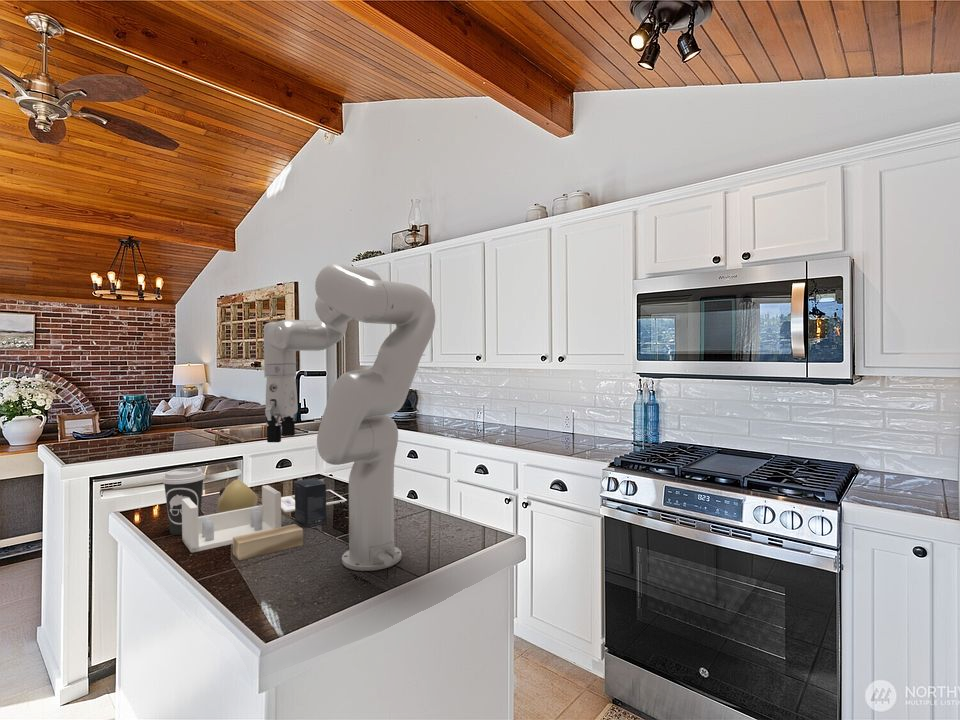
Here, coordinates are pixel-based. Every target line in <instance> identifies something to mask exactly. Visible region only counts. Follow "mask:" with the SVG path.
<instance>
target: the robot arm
mask: <svg viewBox="0 0 960 720" xmlns="http://www.w3.org/2000/svg"><path fill="white" fill-rule="evenodd" d="M314 285H315V287H314V289H315V293H316V296H317V298H316V300H315V303H314V308H315V309H314V310H315V313H316V315H317V317H318V319H320V320H308V319H307V320H304V319H283V320H279V321H271V322H270V321H269V322H267V323H265V324H264V327H263V357H264V358H263V359H264V360H263V368H264V371H263V372H264V373H263V374H264V378H266V383H265V410H264V412H265V420H266V421H265V422H266V423H265V424H266V442H267V443H280V442H282V437H294V436H295V435H296V431H295V430H296V423H295V420H296V416H295V414H297V413H298V409H299V408H298V406H299V405H298V393H297V392H298V391H297V383H296V377H297V352H300V351H305V352H306V351H307V352H310V351H311V352H313V351H314V352H318V351H319V352H320V351H323V350H327V349H329V348H331V347H333V346H334V345H335V344H337V343H338V342H340V341H341V340H342V339H344V336H345V334H346V333H347V330H348V329H347V328H348V323H349V322H350V321H352V320H355V321H357V322H360V323H365V324H380V325H395V326H396V327H395V329H394V330H393V331H391V333H390V334H388V335H387V336H386V338H385V339H384V340H383V342H382V344H381V346H380V348H379V349H378V353H377V355H376V359H375V360H374V363H373V364H372V365H371V367H370V368H366V369H352V370H348V371H346V372H344V373H342V374H341V375H340V376H339V377H338V378H337V379H336V381H334V383H333V385H332V388H331V390H330V393H329V395H328V399H327V402H326V405H325V409H324V412H323V415H322V416H321V417H322V418H321V421H320V425H319V427H318V432H317V436H316V447H317V452H318V454H319V457H321V460H323V462H325V463H327V464H329V465H333V466H334V465H335V466H337V465H344V464H349V463H352V466H351V469H350V471H349V475H348V550H346V551H345V552H344V553H343V554H342V555H341V563H342V565H343V566H344V567H345V568H347V569H350V570H354V571H357V572H359V571H360V572H373V571H379V570H384V569H387V568H391V567H393V566H394V565H397V564H398V563H399V562H400V561H401V560H402V550H401V549H400V548H399V547H398V546H396V542H395V498H394V497H395V495H394V494H395V489H394V487H395V459H396V454H397V450H398V449H397V447H398V442H399V429H398V425H397V424H396V422H395V420H394V419H393V418H392V417H391V416H389V415H391V414H394V413H397V412H398V411H400V410H401V408H402V407H403V406H404V404H405V402H406V400H407V396H408V394H409V391H410V388H411V387H412V383H413V381H414V378H415V375H416V372H417V370H418V366H419V363H420V361H421V359H422V356H423V355H424V352H425V350H426V348H427V347H428V345H429V343H430V340H431V338H432V335H433V334H434V330H435V327H436V326H435V325H436V309H435V306H434V302H433V301H432V298H431V297H430V296H429V294H428V293H427V292H426V291H425V290H424V289H422V288H421V287H419V286H416V285H413V284H408V283H402V282H397V281H388V280H383V279H382V278H381V277H380V275H379V274H378V273H376V272H375V271H373V270H372V269H369V268H367V267H360V266H356V265H355V266H354V265H348V264H347V265H346V264H341V263H332V264H328V265H326V266H325V267H323V268H322V269H321V270H320V271H319V272H318V274H317V276H316V278H315V283H314ZM281 419H282V420H281ZM280 424H281V425H280Z"/></svg>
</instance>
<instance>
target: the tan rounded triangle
mask: <svg viewBox="0 0 960 720" xmlns="http://www.w3.org/2000/svg"><path fill="white" fill-rule="evenodd" d="M258 501H259V500H258V496H257V494H256V493H255V492H254V491H253V490H252V489H251V488H250V487H249V486H248V485H247V484H246V483H245V482H243V481H241V480H239V479H233V481H232V482H230V483H229V484H227V485H226V486H225V487H223V488H221V489H220V490H219V498H218V501H217V510H218V511H219V513H222V512H228V511H233V510H238V509H244V508H249V507H255V506H257V504H258Z"/></svg>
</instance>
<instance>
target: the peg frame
mask: <svg viewBox="0 0 960 720" xmlns="http://www.w3.org/2000/svg"><path fill="white" fill-rule="evenodd" d="M281 497H282V492H280V491H278V490H277V489H275V488H273V487H272V486H270V485H268V484H267V485H261V504H260V505H256V506H255V507H249V508H244V509H238V510H233V511H228V512H222V513H220V512H218V513H212V514H206V515H200V517H198V507H197V506H196V505H195V504H194V503H193V502H192V501H191V500H190V499H189V498H185V499H182V534H181V535H182V536H181V537H182V539H181V541H182V542H183V543H184V545H185V546H186V548H187V549H188V551H189V552H190V553H192V554H193V553H196V552H201V551H206V550H211V549H214V548H219V547H223V546H229V545H233V537H236V536H241V535H246V534H250V533H255V532H260V531H264V530H269V529H274V528H278V527H282V509H281Z"/></svg>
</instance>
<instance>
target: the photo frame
mask: <svg viewBox="0 0 960 720" xmlns="http://www.w3.org/2000/svg"><path fill="white" fill-rule="evenodd" d="M328 492H331V493H332V494H334V495H336V496H337V497H339V498H340V500H334V501H329V502H328V501H327V502H326V506H328V505H329V506H330V505H334V504H340V502H341V503H346V502H345V501H347V502H348V499H346V498H345V497H343V496H342V495H340V494H338V493H336V492H335V491H333V490H332V489H326V493H328ZM281 511H283V512H284V513H289V512H295V494H293V495H288V496H281Z"/></svg>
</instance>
